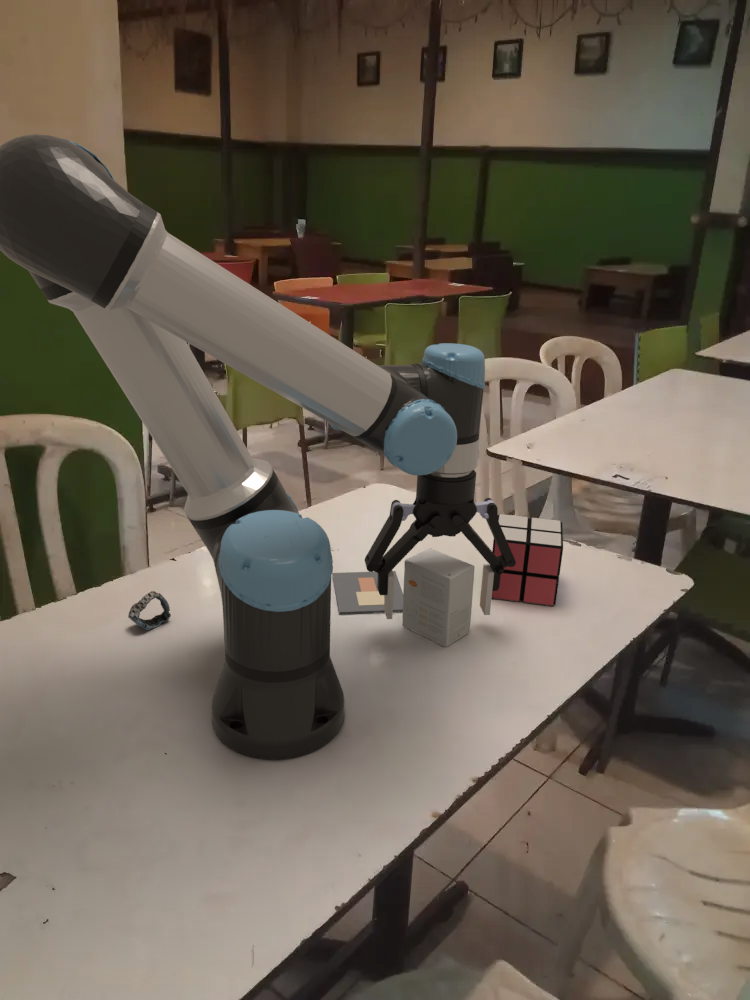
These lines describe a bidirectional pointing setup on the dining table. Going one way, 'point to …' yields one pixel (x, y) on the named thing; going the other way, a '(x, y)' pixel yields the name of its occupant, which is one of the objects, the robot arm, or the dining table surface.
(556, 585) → the puzzle cube
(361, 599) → the card
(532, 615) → the dining table surface
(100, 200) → the robot arm
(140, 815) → the dining table surface
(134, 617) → the wristwatch
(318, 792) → the dining table surface
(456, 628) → the small box
